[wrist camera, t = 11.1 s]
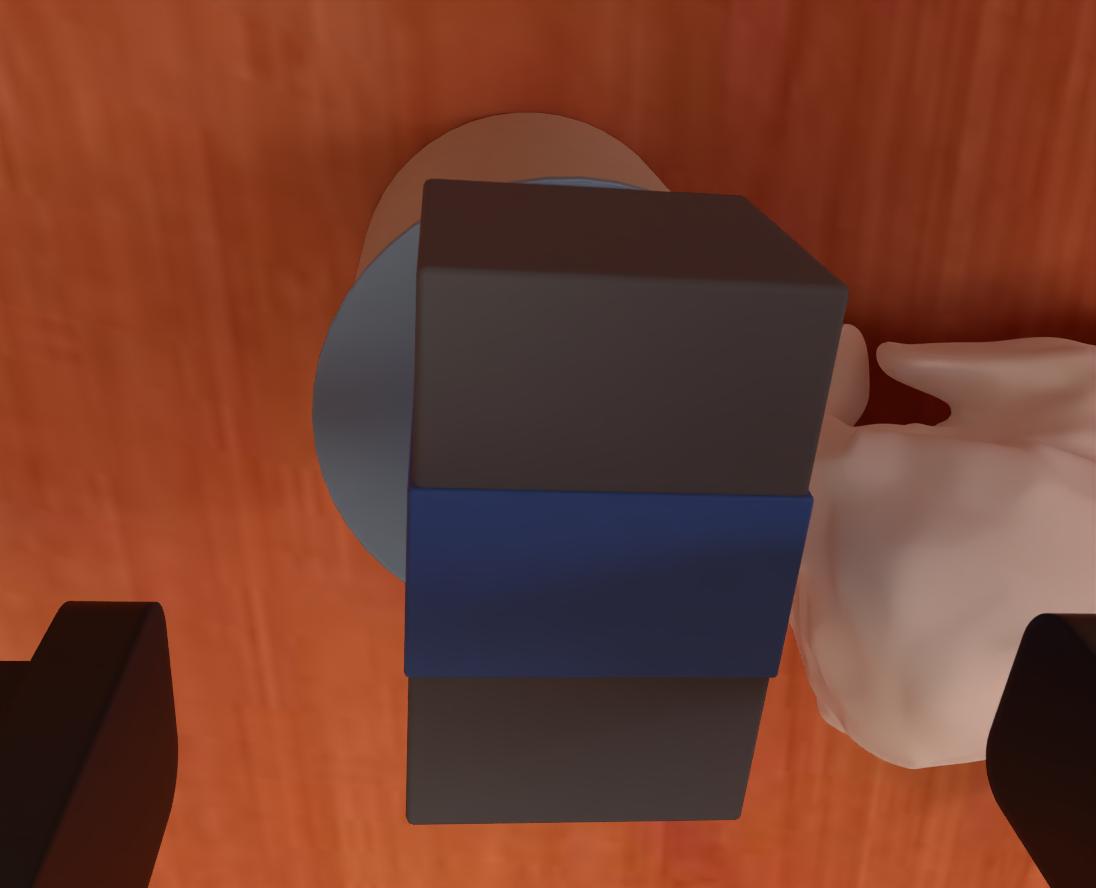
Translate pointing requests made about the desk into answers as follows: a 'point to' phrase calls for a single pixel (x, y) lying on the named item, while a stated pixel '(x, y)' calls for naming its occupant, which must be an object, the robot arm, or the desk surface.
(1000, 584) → the white lumpy elongated piece
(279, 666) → the desk surface
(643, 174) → the yogurt
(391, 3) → the desk surface
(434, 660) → the block
